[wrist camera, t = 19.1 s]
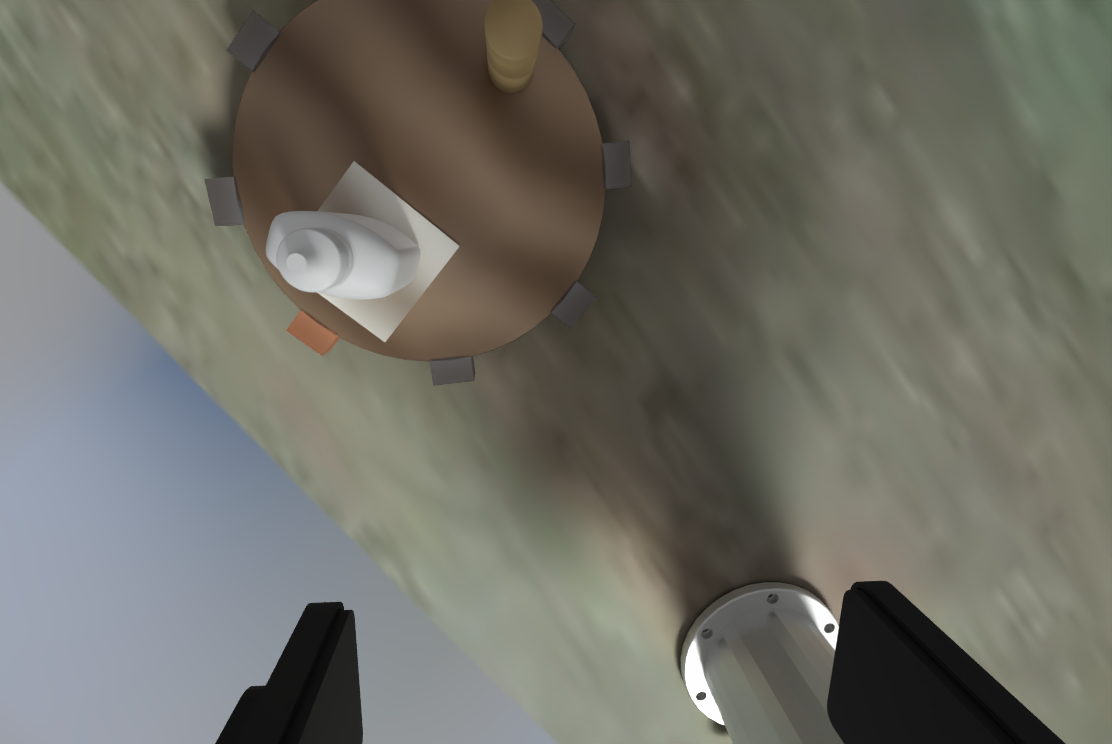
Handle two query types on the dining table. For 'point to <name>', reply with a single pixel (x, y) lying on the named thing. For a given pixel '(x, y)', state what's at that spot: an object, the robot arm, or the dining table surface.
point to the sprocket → (427, 165)
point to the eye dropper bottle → (341, 254)
